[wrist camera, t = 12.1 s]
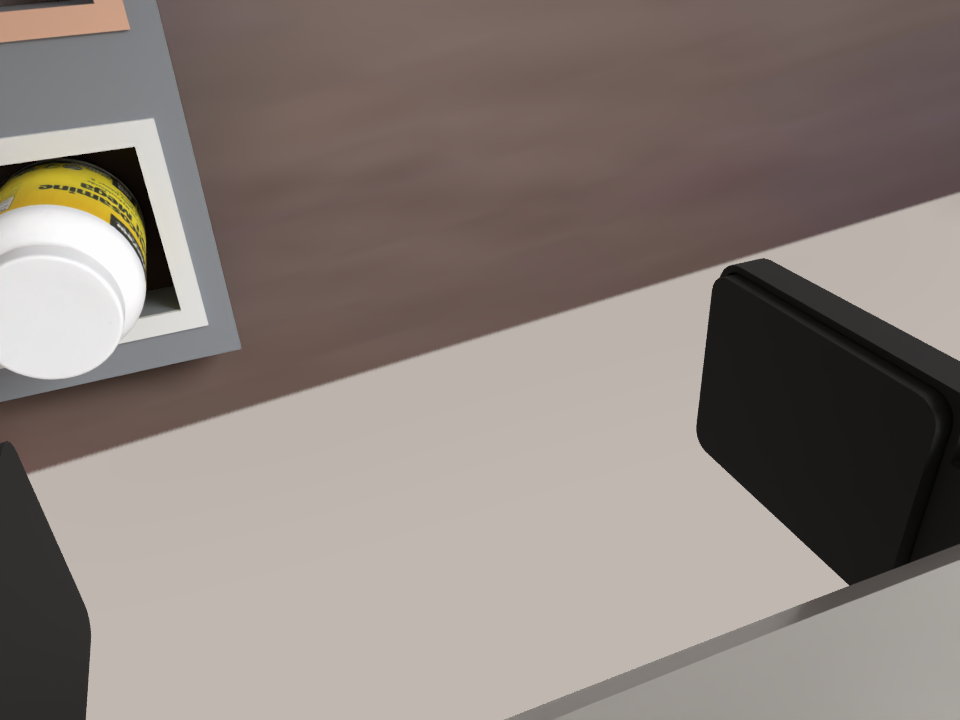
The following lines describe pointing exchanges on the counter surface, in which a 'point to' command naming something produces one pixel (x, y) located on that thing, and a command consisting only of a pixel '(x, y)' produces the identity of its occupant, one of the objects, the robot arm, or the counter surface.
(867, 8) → the counter surface
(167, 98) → the socket stand
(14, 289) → the pill bottle
